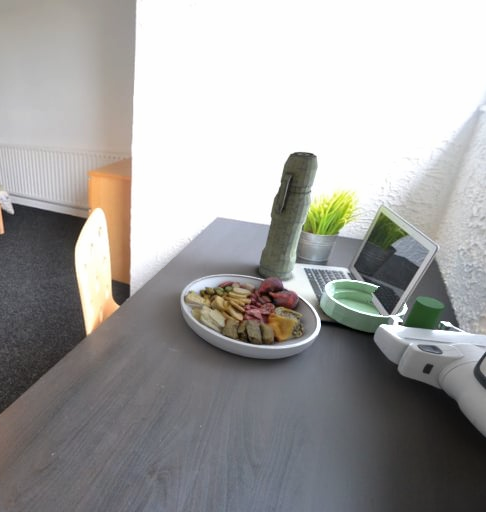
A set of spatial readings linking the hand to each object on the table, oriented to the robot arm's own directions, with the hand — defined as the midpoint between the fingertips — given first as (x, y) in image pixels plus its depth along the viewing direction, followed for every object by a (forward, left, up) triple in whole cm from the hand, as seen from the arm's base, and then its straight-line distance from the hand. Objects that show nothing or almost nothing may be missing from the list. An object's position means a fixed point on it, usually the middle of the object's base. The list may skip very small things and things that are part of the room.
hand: (417, 322), depth 77 cm
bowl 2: (+5, -11, -7) cm, 14 cm away
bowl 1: (+33, -2, -7) cm, 34 cm away
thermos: (+20, -29, -7) cm, 36 cm away
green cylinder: (0, +1, -7) cm, 7 cm away
